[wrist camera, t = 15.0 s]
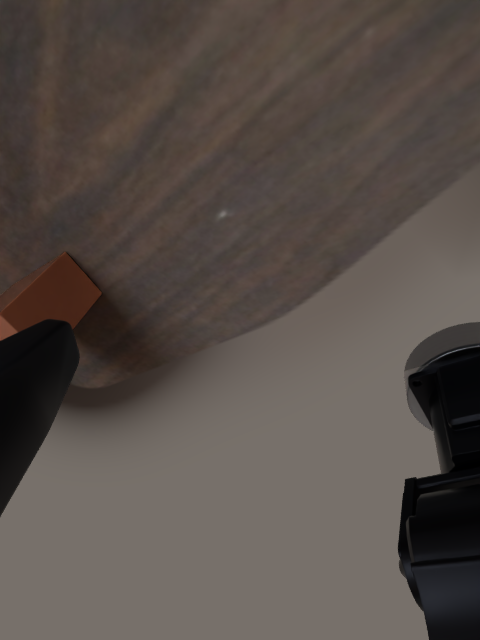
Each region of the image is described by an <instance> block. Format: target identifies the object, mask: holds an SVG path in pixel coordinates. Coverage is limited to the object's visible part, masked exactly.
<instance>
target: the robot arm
mask: <svg viewBox="0 0 480 640" xmlns="http://www.w3.org/2000/svg"><path fill="white" fill-rule="evenodd" d="M79 358H80V357H79V350H78V347H77V343H76V340H75V336H74V333H73V329H72V326H71V325H70V324H69V322H67V321H63V320H56V319H46V320H43V321H41V322H39V323H37V324H35V325H33V326H31V327H28V328H26V329H24V330H22V331H20V332H18V333H16V334H14V335H11V336H9V337H7V338H5V339H3V340H1V341H0V516H1V514H2V513H3V511H4V509H5V508H6V506H7V504H8V502H9V501H10V499H11V497H12V495H13V494H14V492H15V490H16V488H17V487H18V485H19V483H20V481H21V480H22V478H23V476H24V474H25V473H26V471H27V469H28V467H29V466H30V464H31V462H32V460H33V459H34V457H35V455H36V453H37V451H38V450H39V448H40V446H41V445H42V443H43V441H44V439H45V437H46V436H47V434H48V432H49V430H50V428H51V425H52V423H53V421H54V419H55V417H56V414H57V412H58V410H59V407H60V405H61V403H62V401H63V398H64V396H65V394H66V391H67V389H68V387H69V385H70V382H71V380H72V378H73V376H74V373H75V371H76V369H77V366H78V363H79ZM414 381H419V382H414ZM408 385H409V387H410V389H411V391H412V393H413V394H414V396H415V398H416V400H417V402H418V403H419V405H420V407H421V409H422V410H423V412H424V414H425V416H426V418H427V419H428V421H429V423H430V425H431V427H432V428H433V431H434V436H435V442H436V447H437V453H438V458H439V464H440V470H441V474H438V475H433V476H428V477H423V478H418V479H417V478H416V477H414V478H409V479H405V486H404V493H403V500H402V510H401V522H400V531H399V542H398V553H399V557H400V560H399V568H400V571H401V573H402V575H403V576H404V577H405V578H406V579H407V582H408V585H409V588H410V590H411V592H412V595H413V597H414V599H415V601H416V603H417V604H418V606H419V607H420V608H421V610H422V611H424V615H425V620H426V625H427V630H428V636H429V640H480V355H479V356H475V357H472V358H468V359H464V360H461V361H457V362H453V363H450V364H446V365H442V366H438V367H435V368H431V369H427V370H424V371H420V372H416V373H413V374H411V375H409V376H408Z"/></svg>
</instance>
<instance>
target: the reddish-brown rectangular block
mask: <svg viewBox="0 0 480 640" xmlns="http://www.w3.org/2000/svg"><path fill="white" fill-rule="evenodd" d="M101 294H102V292H101V291H100V290H99V289H98V288H97V287H96V285H95V284H94V283H93V282H92V281H91V280H90V279H89V278H88V276H87V275H86V274H85V273H84V272H83V271H82V270H81V269H80V267H79V266H78V265H77V264H76V263H75V262H74V261H73V260H72V258H71V257H70V256H69V255H68V254H67V253H66V252H64V253H62V254H60V255H59V256H57V257H56V258H54V259H53V260H51V261H49V262H48V263H46V264H45V265H43V266H42V267H40V268H38V269H37V270H35V271H34V272H32V273H31V274H29V275H28V276H26V277H24V278H23V279H21V280H20V281H18V282H17V283H15V284H13V285H12V286H11V287H10V288H9V289H7V290H6V291H5V292H4V293H3V294H2V295H1V296H0V341H1V340H3V339H5V338H7V337H9V336H11V335H14V334H16V333H18V332H20V331H22V330H24V329H26V328H28V327H31V326H33V325H35V324H37V323H39V322H41V321H43V320H46V319H56V320H63V321H67V322H69V324H70V325H71V326H72V329H74V328H75V327H76V325H77V324H78V323H79V322H80V320H81V319H82V318H83V317H84V315H85V314H86V313H87V312H88V310H89V309H90V308H91V307H92V305H93V304H94V303H95V302H96V300H97V299H98V298H99V297H100V295H101Z"/></svg>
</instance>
